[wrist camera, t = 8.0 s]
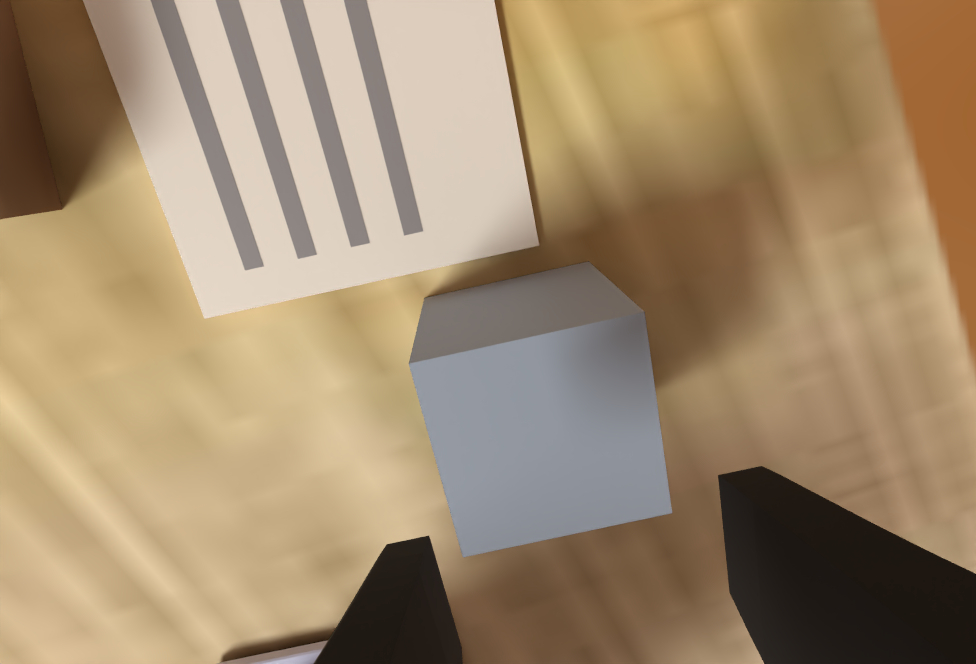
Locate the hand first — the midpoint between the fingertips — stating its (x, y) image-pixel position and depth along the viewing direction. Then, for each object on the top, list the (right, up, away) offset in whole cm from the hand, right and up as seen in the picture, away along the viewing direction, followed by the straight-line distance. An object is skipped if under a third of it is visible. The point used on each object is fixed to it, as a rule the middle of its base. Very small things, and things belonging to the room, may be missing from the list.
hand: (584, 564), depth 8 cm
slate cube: (0, +3, +8) cm, 8 cm away
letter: (-6, +10, +5) cm, 13 cm away
